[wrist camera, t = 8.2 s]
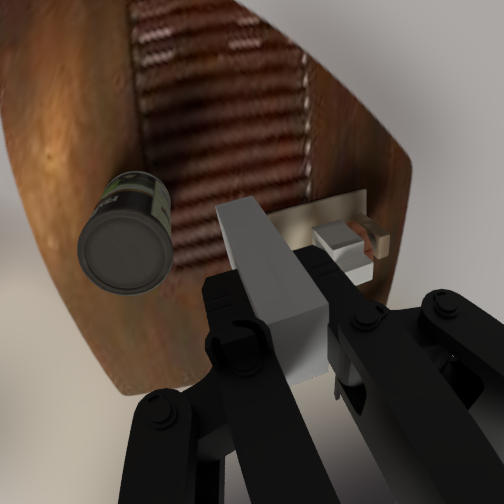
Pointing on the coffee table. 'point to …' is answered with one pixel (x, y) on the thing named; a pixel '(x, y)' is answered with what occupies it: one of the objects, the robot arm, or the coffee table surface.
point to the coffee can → (128, 236)
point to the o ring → (363, 234)
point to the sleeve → (344, 249)
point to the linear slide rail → (327, 220)
